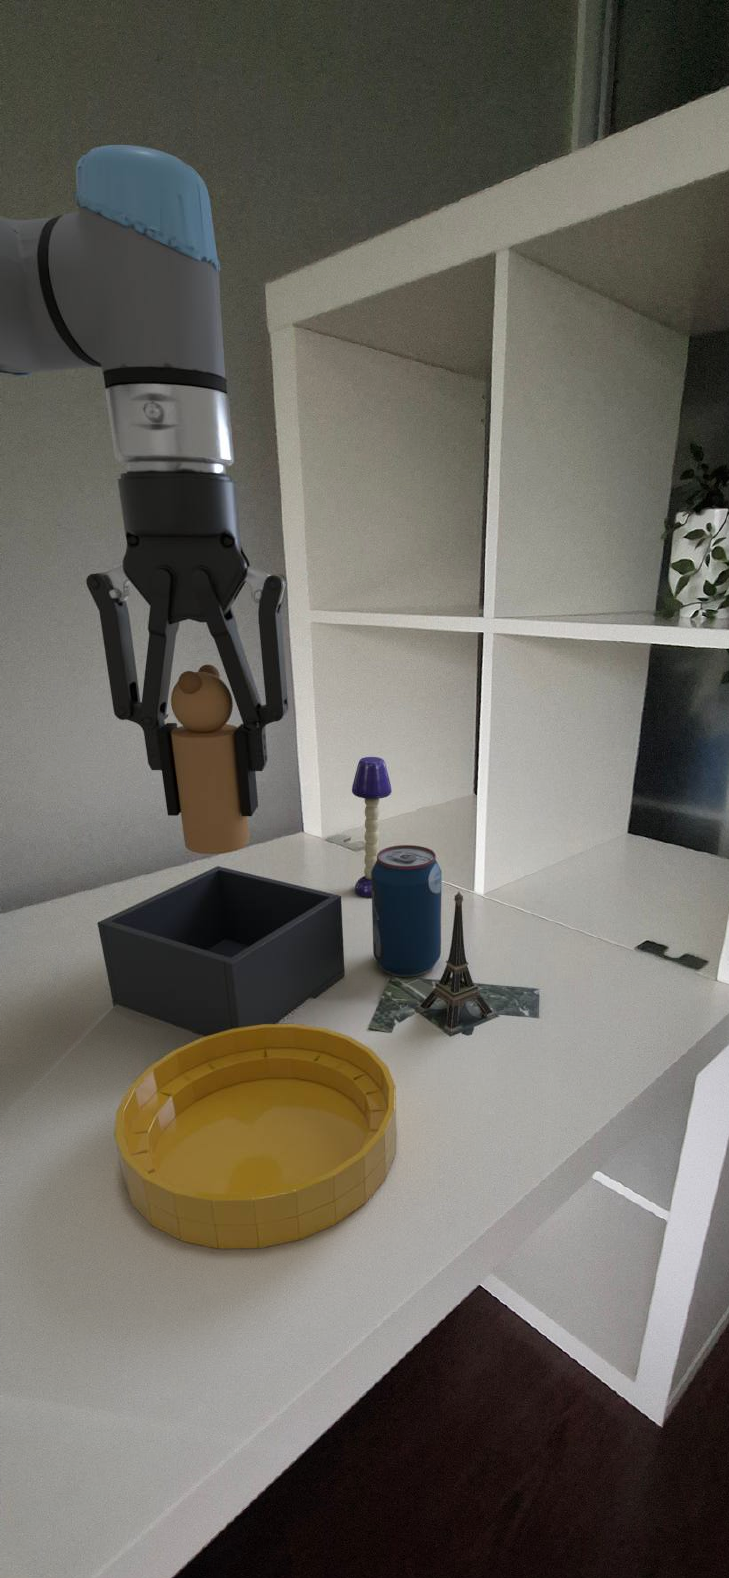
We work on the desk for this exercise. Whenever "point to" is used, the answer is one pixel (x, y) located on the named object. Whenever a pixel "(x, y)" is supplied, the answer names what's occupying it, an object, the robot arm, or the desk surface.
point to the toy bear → (207, 764)
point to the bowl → (257, 1135)
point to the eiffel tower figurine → (452, 995)
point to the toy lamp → (370, 811)
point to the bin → (224, 951)
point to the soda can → (406, 910)
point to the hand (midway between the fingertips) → (213, 809)
